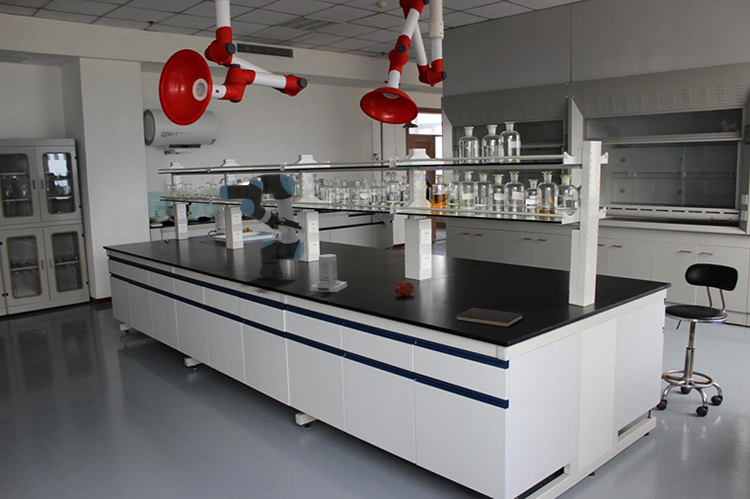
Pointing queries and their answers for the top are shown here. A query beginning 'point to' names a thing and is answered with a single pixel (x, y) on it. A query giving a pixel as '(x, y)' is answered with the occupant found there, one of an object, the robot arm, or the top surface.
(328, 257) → the supplement tub
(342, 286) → the scale
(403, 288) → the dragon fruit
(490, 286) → the top surface
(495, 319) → the hardcover book
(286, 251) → the robot arm
